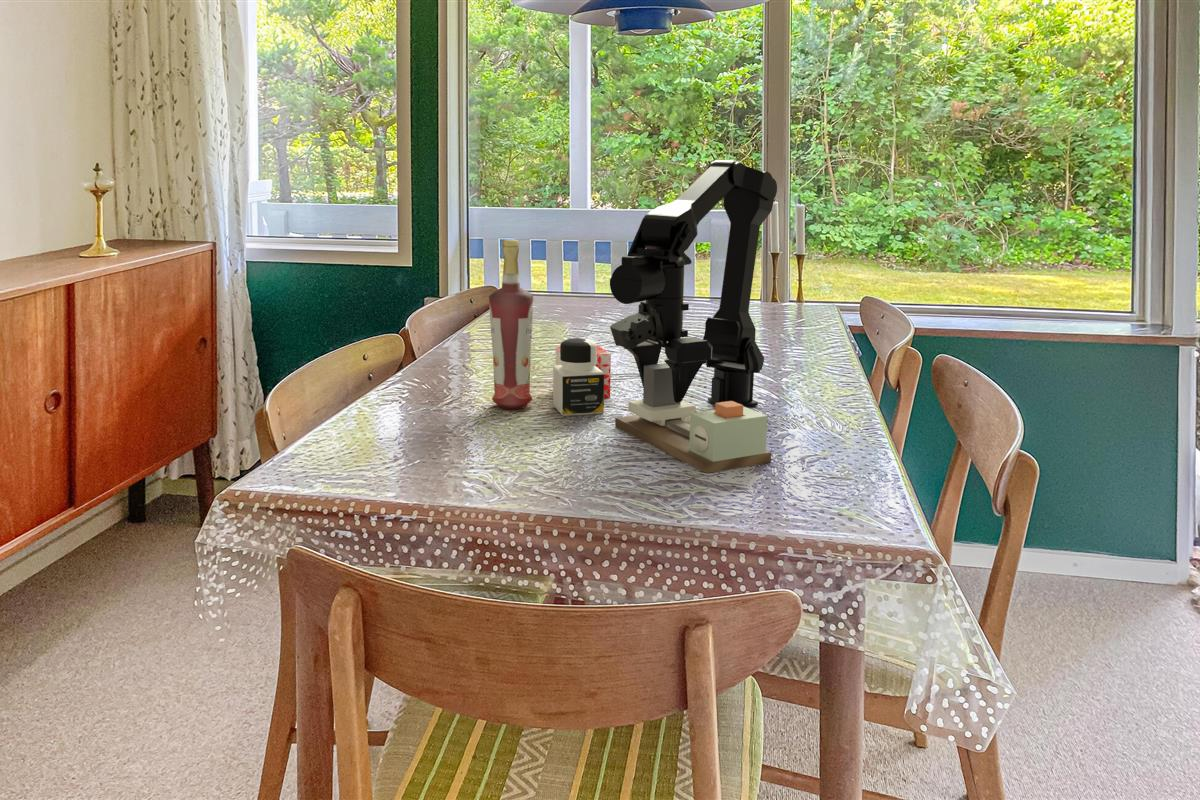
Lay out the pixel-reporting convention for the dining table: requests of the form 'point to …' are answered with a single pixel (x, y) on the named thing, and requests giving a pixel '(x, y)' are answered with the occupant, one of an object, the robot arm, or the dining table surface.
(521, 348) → the liquor
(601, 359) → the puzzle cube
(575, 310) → the dining table surface
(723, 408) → the button
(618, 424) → the rail track
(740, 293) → the robot arm
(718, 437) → the cabinet
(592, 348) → the medicine bottle
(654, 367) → the carriage
